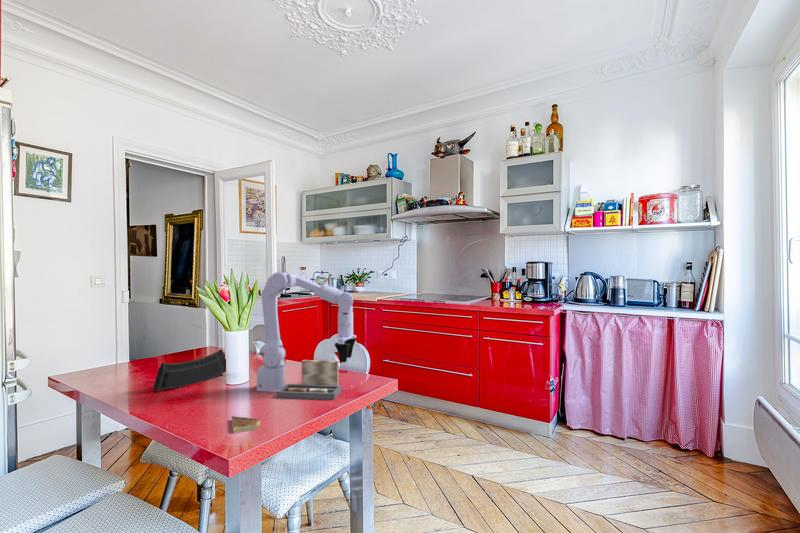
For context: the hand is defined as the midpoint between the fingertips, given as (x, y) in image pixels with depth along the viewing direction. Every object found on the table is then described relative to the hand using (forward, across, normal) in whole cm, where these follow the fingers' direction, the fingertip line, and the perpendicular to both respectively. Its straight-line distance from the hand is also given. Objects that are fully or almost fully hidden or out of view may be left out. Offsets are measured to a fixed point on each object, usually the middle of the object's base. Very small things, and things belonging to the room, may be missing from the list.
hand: (345, 359), depth 146 cm
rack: (+10, -11, +10) cm, 18 cm away
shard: (+11, -39, +21) cm, 46 cm away
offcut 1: (+10, -13, +14) cm, 22 cm away
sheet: (+11, 0, +10) cm, 15 cm away
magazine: (+11, 0, +62) cm, 62 cm away
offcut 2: (+10, -13, +7) cm, 18 cm away
